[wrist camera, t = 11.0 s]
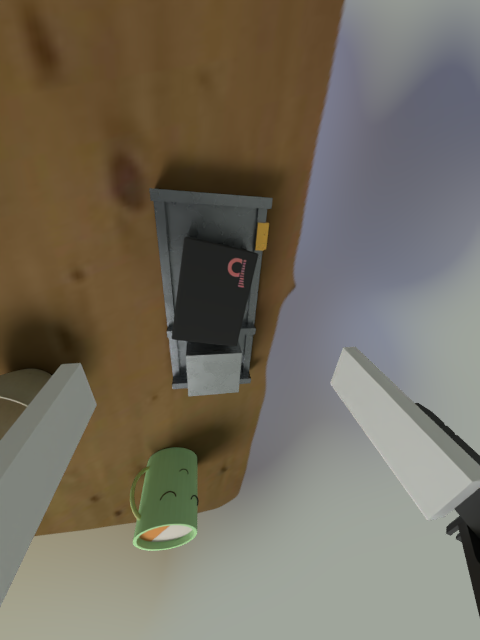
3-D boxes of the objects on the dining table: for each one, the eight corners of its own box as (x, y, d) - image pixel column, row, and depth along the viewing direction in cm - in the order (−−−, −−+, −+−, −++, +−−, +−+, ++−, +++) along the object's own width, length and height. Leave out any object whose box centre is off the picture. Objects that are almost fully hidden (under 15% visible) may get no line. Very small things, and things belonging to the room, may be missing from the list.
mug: (207, 453, 47) (210, 525, 36) (180, 478, 50) (176, 551, 39) (153, 438, 41) (138, 518, 31) (126, 466, 44) (105, 548, 34)
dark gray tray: (154, 189, 22) (142, 187, 18) (270, 198, 25) (287, 198, 20) (174, 377, 35) (170, 405, 30) (250, 372, 37) (257, 397, 32)
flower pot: (76, 359, 31) (46, 400, 24) (75, 408, 35) (49, 453, 29) (-15, 347, 28) (-75, 391, 21) (-4, 402, 32) (-52, 451, 26)
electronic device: (174, 322, 28) (171, 339, 24) (186, 236, 25) (184, 236, 20) (230, 329, 30) (237, 347, 25) (248, 250, 26) (259, 253, 22)
